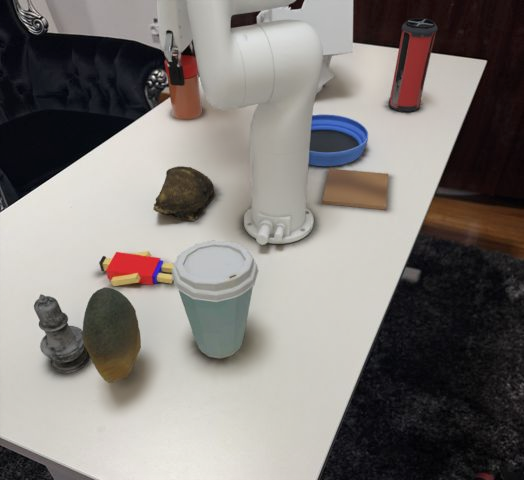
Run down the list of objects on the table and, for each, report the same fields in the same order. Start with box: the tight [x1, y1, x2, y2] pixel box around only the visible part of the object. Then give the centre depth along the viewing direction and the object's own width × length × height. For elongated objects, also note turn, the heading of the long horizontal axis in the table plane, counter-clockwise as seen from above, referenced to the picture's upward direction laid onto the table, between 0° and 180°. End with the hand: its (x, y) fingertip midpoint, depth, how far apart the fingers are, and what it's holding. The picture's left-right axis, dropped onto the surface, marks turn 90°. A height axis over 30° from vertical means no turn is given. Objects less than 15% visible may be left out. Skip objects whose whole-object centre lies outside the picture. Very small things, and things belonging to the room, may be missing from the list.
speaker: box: [388, 17, 438, 113], centre depth 115 cm, size 8×8×18 cm
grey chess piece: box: [33, 293, 91, 374], centre depth 64 cm, size 6×6×12 cm
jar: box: [166, 73, 203, 120], centre depth 117 cm, size 7×7×11 cm
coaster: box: [321, 168, 389, 211], centre depth 97 cm, size 12×12×1 cm
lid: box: [164, 54, 199, 78], centre depth 113 cm, size 8×8×2 cm
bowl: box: [308, 113, 369, 167], centre depth 107 cm, size 18×18×4 cm
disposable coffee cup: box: [171, 239, 259, 359], centre depth 65 cm, size 11×11×15 cm
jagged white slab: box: [256, 0, 354, 95], centre depth 119 cm, size 20×16×25 cm
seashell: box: [152, 165, 216, 221], centre depth 92 cm, size 16×9×7 cm, turn 160°
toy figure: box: [98, 250, 174, 287], centre depth 80 cm, size 2×7×12 cm
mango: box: [82, 286, 142, 384], centre depth 61 cm, size 10×6×15 cm, turn 170°
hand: (183, 77), depth 115 cm, fingers closed on lid, 7 cm apart
